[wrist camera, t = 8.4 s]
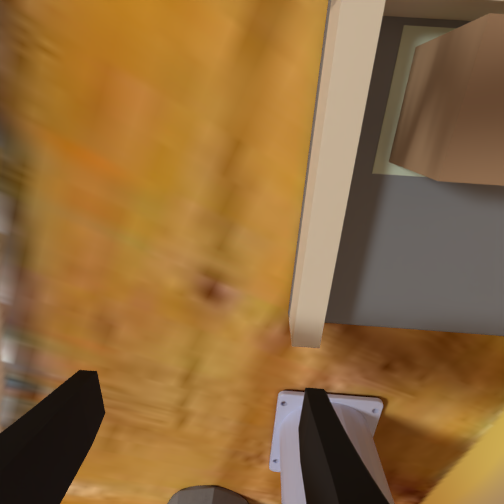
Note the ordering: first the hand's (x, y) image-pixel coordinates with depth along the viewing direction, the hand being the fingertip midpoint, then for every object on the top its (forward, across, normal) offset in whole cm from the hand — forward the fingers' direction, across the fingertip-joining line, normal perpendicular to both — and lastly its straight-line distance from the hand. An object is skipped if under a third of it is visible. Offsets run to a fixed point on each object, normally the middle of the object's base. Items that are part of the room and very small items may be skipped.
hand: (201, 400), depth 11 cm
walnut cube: (+9, -10, -10) cm, 17 cm away
